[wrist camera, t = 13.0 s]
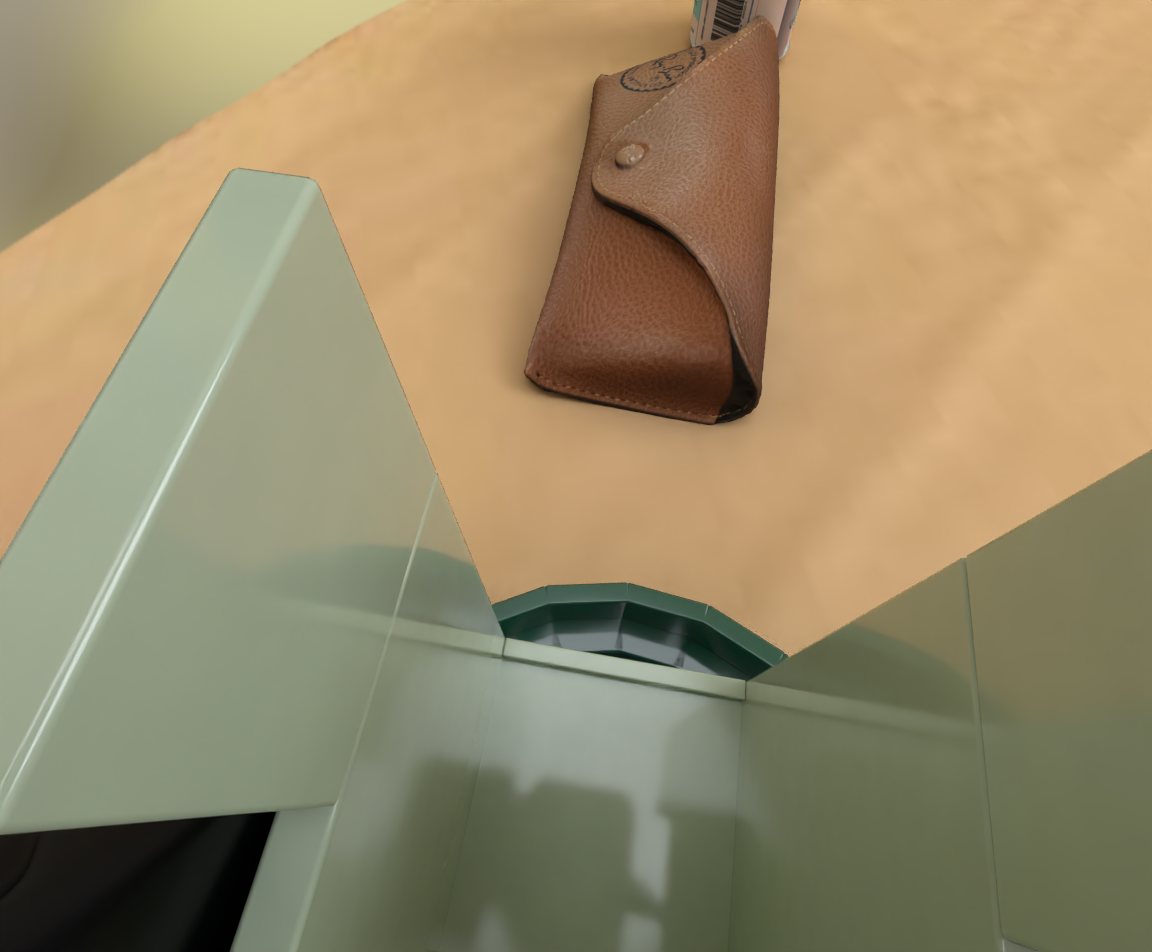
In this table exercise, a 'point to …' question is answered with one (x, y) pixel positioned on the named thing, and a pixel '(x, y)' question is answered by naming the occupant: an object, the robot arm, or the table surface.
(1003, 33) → the table surface
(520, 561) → the table surface
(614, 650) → the bowl
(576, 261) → the sunglasses case
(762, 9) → the beer can
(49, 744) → the pale green open holder
